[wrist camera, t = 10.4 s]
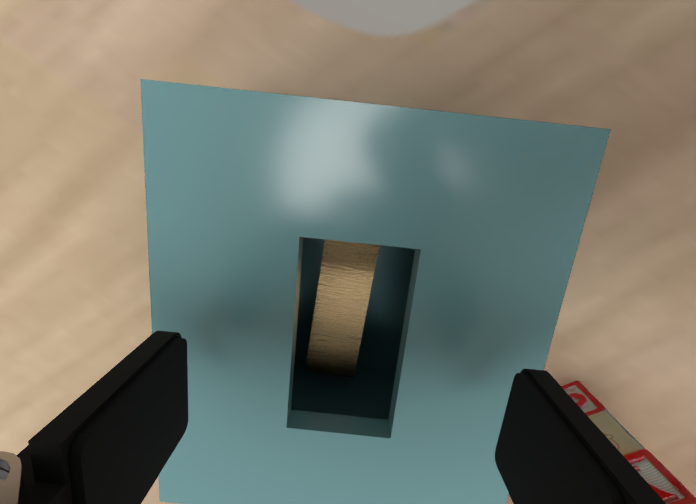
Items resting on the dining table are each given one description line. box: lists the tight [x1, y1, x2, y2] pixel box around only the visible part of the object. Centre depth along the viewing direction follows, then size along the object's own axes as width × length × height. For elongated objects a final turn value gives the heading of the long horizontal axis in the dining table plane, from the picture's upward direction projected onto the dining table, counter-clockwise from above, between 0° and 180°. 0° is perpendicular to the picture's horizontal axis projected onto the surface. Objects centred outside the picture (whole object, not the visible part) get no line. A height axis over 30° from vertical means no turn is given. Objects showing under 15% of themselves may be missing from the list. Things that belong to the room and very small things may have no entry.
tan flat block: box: [305, 239, 379, 377], centre depth 19 cm, size 2×5×7 cm
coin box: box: [141, 79, 611, 504], centre depth 17 cm, size 14×16×10 cm
